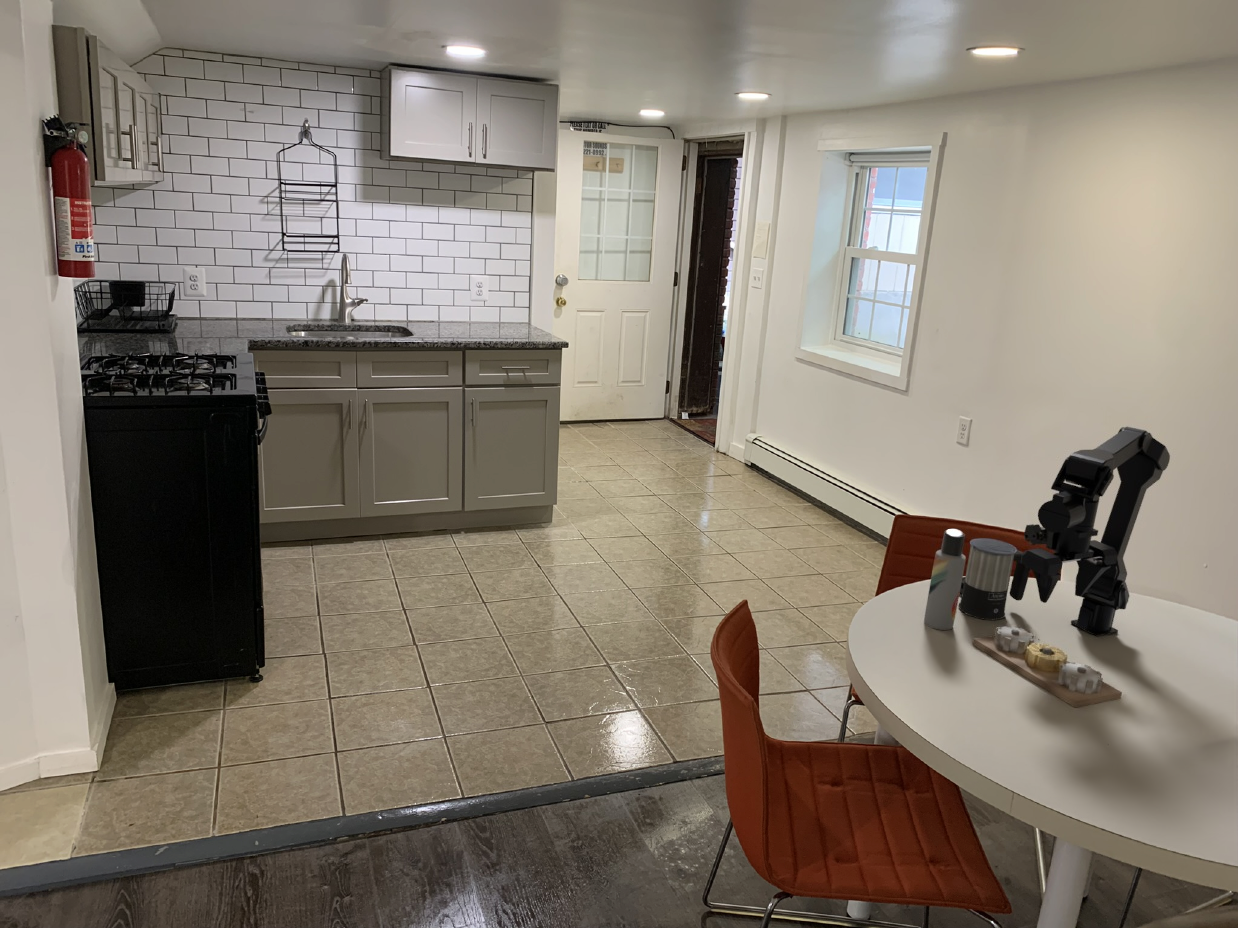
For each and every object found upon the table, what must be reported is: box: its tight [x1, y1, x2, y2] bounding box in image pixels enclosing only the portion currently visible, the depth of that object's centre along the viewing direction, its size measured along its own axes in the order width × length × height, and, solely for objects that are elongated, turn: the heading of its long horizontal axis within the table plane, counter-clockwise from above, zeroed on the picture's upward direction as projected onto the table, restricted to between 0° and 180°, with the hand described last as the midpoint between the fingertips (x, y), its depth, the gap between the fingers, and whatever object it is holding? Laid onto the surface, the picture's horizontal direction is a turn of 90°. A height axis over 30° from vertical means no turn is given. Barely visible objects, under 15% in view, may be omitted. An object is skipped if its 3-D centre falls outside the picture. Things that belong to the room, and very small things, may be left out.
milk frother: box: [958, 537, 1031, 621], centre depth 196 cm, size 14×16×15 cm
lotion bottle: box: [923, 528, 967, 631], centre depth 183 cm, size 6×6×20 cm
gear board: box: [972, 625, 1123, 708], centre depth 169 cm, size 24×11×4 cm, turn 23°
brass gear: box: [1024, 642, 1068, 673], centre depth 169 cm, size 7×7×2 cm
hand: (1061, 598), depth 174 cm, fingers open, 9 cm apart
